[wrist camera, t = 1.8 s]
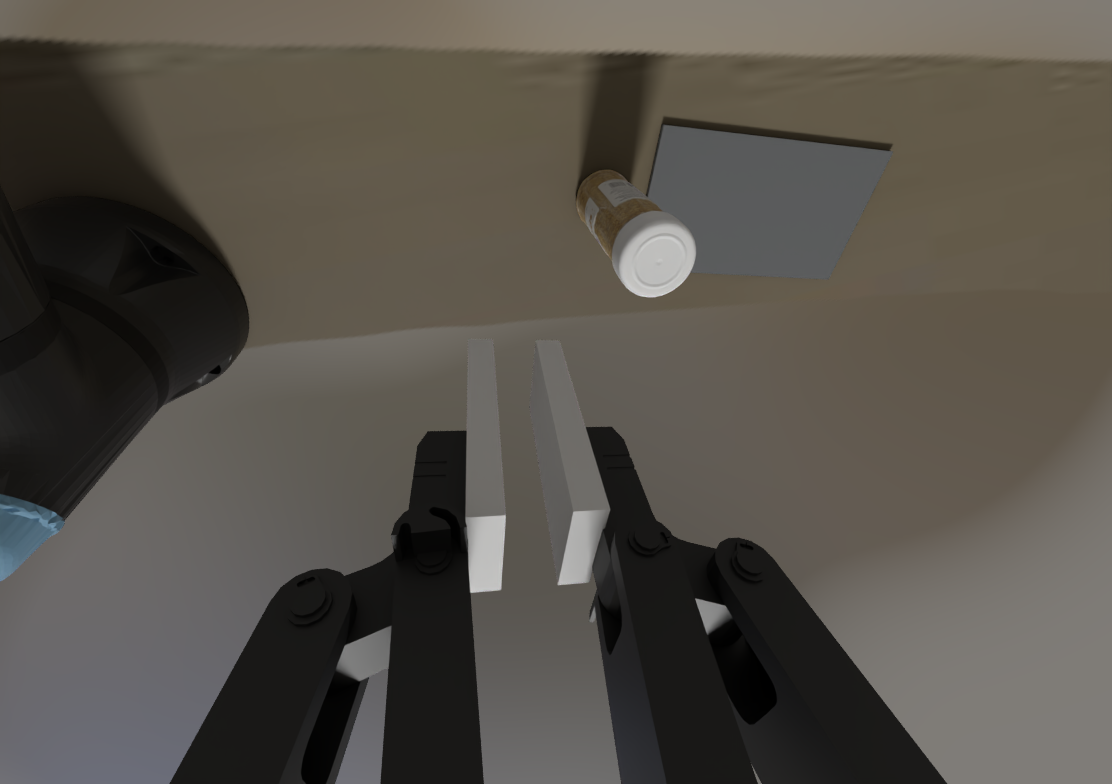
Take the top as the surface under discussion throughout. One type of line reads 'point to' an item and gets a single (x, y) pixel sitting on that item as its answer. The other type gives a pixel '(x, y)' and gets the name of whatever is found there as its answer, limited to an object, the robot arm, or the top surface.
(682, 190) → the mat
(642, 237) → the sprinkles bottle
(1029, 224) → the top surface
